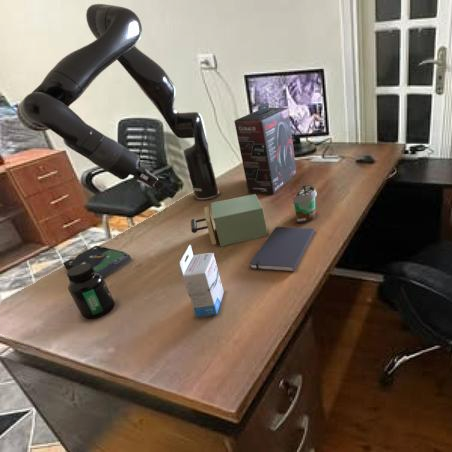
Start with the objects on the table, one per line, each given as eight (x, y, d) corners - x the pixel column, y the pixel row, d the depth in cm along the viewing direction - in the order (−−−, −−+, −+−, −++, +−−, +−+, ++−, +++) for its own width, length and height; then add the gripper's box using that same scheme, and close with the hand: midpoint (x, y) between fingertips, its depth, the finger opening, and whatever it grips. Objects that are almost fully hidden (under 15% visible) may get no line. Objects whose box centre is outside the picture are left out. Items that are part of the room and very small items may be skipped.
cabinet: (220, 246, 107) (213, 218, 102) (217, 228, 117) (210, 202, 113) (267, 235, 111) (262, 208, 107) (260, 219, 122) (255, 193, 117)
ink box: (217, 315, 79) (201, 261, 72) (195, 318, 79) (177, 264, 72) (224, 292, 87) (211, 241, 80) (204, 294, 87) (189, 243, 80)
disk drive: (65, 271, 100) (100, 280, 95) (61, 263, 99) (96, 271, 94) (99, 252, 109) (132, 259, 103) (95, 244, 107) (129, 251, 102)
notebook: (293, 271, 92) (314, 232, 111) (293, 267, 92) (313, 228, 110) (249, 268, 95) (276, 230, 113) (248, 263, 94) (276, 226, 113)
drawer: (195, 248, 105) (189, 225, 101) (194, 232, 114) (188, 210, 111) (256, 234, 110) (252, 212, 107) (250, 219, 120) (246, 199, 116)
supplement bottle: (107, 318, 81) (86, 276, 75) (76, 322, 81) (53, 280, 75) (120, 299, 87) (102, 259, 81) (92, 302, 87) (72, 262, 81)
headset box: (274, 195, 140) (260, 109, 124) (246, 193, 144) (230, 110, 128) (297, 174, 160) (288, 98, 145) (273, 172, 164) (261, 98, 149)
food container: (314, 225, 115) (311, 197, 110) (296, 225, 116) (292, 197, 111) (322, 209, 125) (320, 183, 121) (305, 209, 127) (303, 183, 122)
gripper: (128, 148, 84) (185, 186, 95) (117, 143, 94) (170, 177, 105) (109, 174, 83) (169, 209, 94) (99, 165, 93) (155, 198, 104)
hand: (169, 192), depth 100 cm, fingers open, 8 cm apart
